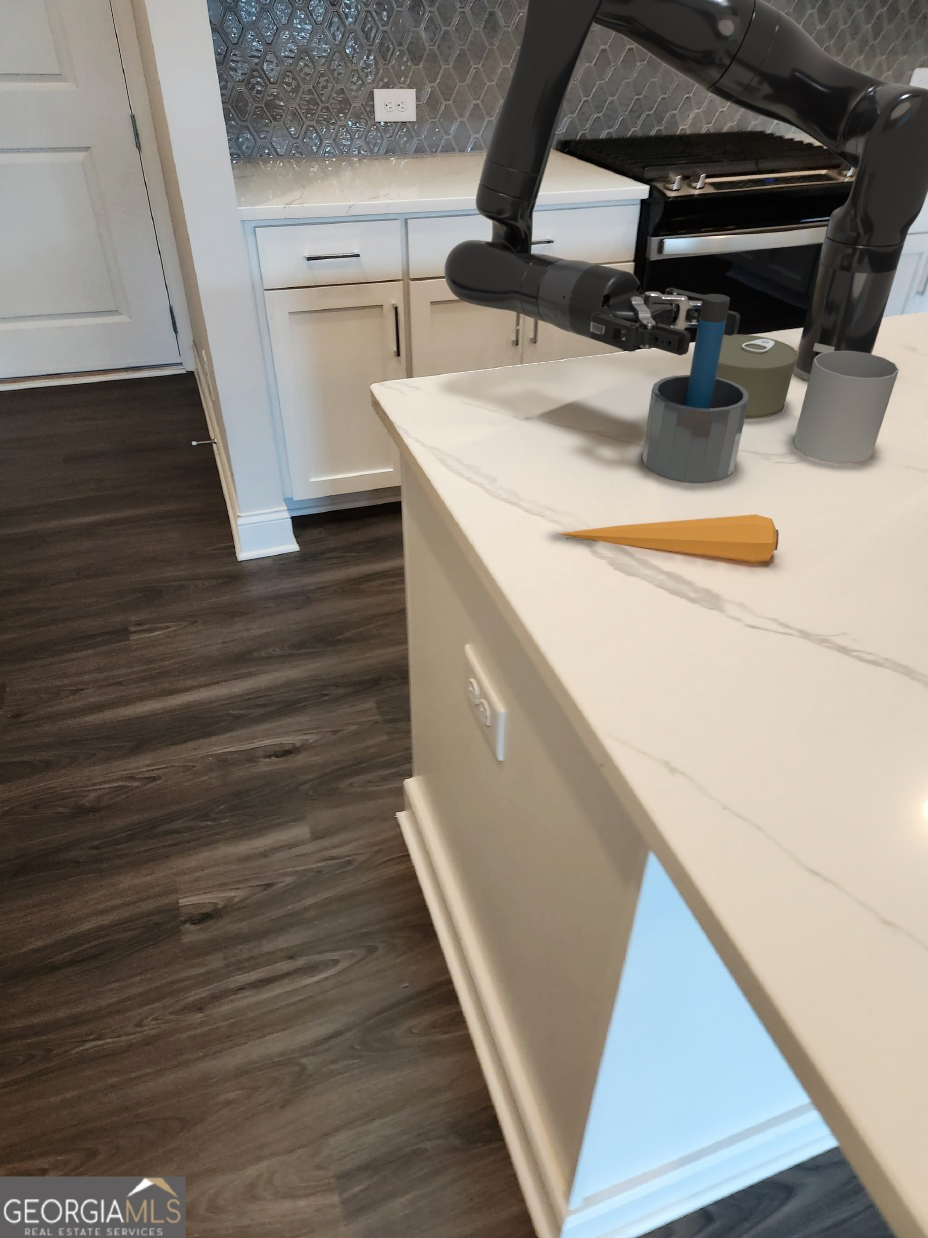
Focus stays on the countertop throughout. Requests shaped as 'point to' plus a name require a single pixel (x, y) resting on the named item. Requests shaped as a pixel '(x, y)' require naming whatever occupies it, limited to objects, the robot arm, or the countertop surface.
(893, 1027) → the countertop surface
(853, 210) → the robot arm
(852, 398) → the cup
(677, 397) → the pen pot
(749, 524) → the carrot
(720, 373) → the can
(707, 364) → the marker
